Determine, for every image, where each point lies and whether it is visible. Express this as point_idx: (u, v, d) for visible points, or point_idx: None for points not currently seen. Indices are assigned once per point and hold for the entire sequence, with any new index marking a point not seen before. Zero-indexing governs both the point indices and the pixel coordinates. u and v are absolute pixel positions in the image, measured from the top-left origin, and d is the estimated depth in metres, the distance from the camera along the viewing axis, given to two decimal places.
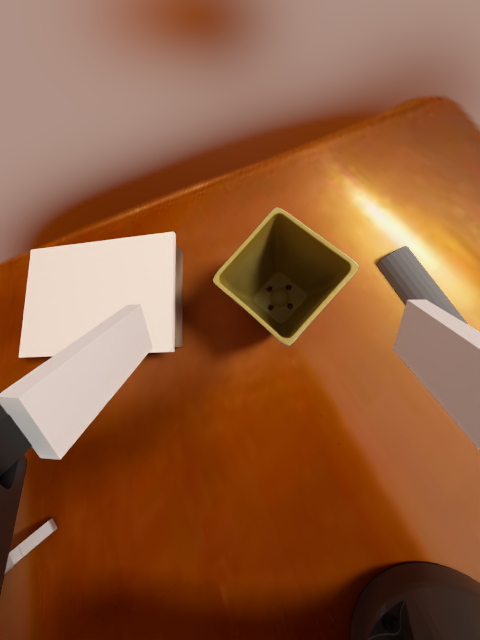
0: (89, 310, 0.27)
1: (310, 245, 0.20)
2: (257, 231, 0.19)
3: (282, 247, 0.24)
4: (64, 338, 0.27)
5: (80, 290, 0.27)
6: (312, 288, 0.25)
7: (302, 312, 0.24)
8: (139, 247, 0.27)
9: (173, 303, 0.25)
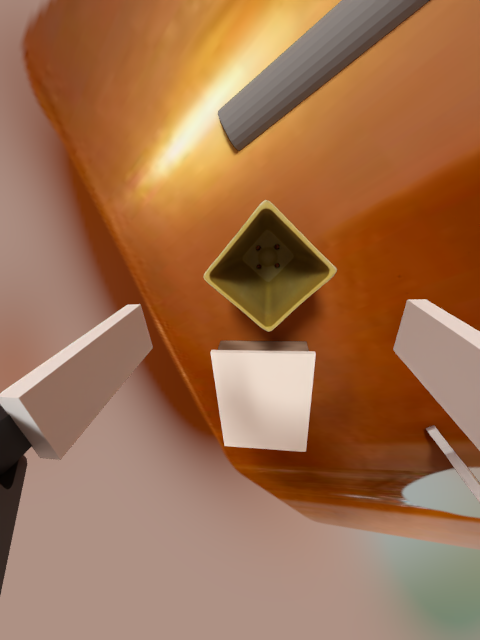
0: (274, 410, 0.35)
1: (236, 243, 0.21)
2: (226, 294, 0.22)
3: (226, 260, 0.25)
4: (295, 425, 0.35)
5: (258, 416, 0.36)
6: (263, 226, 0.25)
7: (288, 238, 0.25)
8: (224, 377, 0.33)
9: (273, 352, 0.30)
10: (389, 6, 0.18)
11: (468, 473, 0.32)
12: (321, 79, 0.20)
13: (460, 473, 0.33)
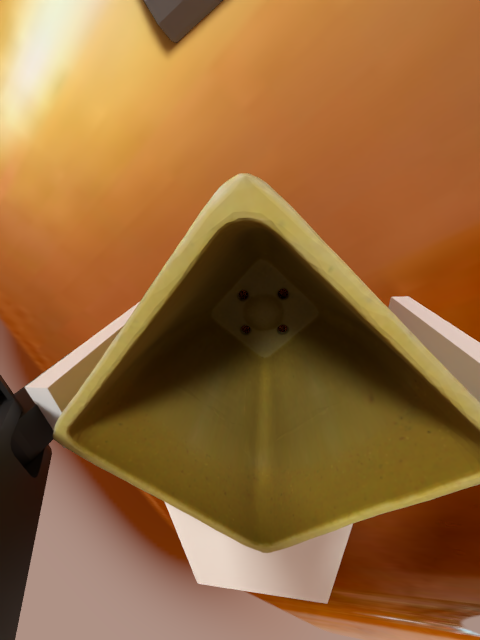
0: (276, 558, 0.20)
1: (153, 330, 0.06)
2: (133, 480, 0.07)
3: (163, 335, 0.11)
4: (312, 577, 0.21)
5: (248, 561, 0.21)
6: (251, 253, 0.11)
7: (312, 284, 0.10)
8: (186, 514, 0.18)
9: None
10: None
11: None
12: None
13: None
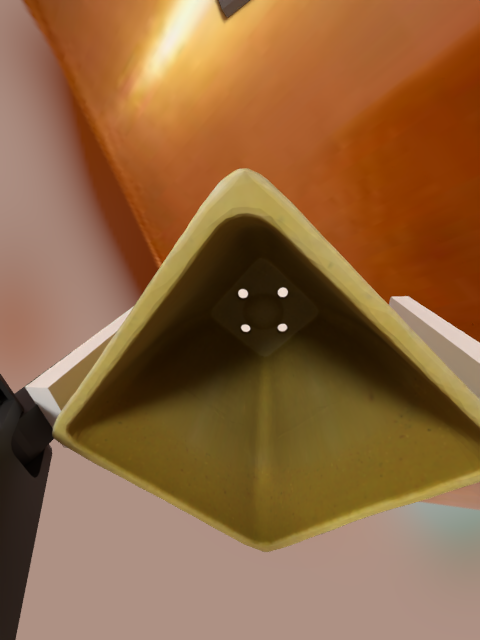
0: None
1: (153, 328, 0.06)
2: (132, 479, 0.07)
3: (163, 334, 0.11)
4: None
5: None
6: (251, 252, 0.11)
7: (312, 283, 0.10)
8: None
9: None
10: None
11: None
12: None
13: None
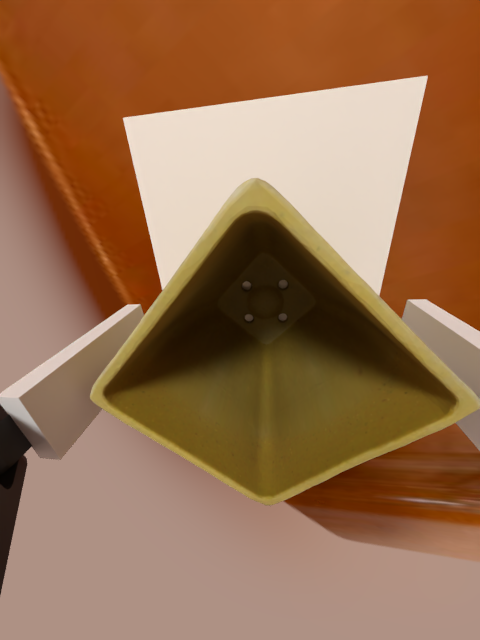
0: None
1: (175, 307, 0.07)
2: (156, 437, 0.08)
3: (176, 320, 0.12)
4: None
5: None
6: (254, 247, 0.12)
7: (309, 274, 0.12)
8: (168, 210, 0.13)
9: (295, 96, 0.11)
10: None
11: None
12: None
13: None
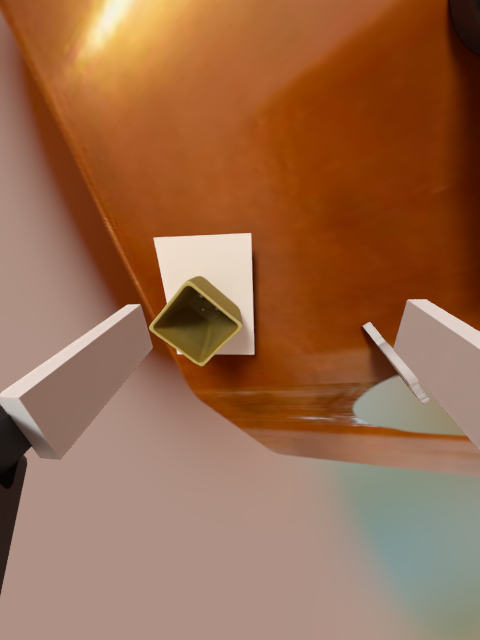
0: None
1: (173, 303, 0.28)
2: (167, 340, 0.29)
3: (172, 309, 0.33)
4: None
5: None
6: None
7: None
8: (169, 267, 0.34)
9: (212, 235, 0.32)
10: None
11: (394, 352, 0.35)
12: None
13: (387, 354, 0.35)
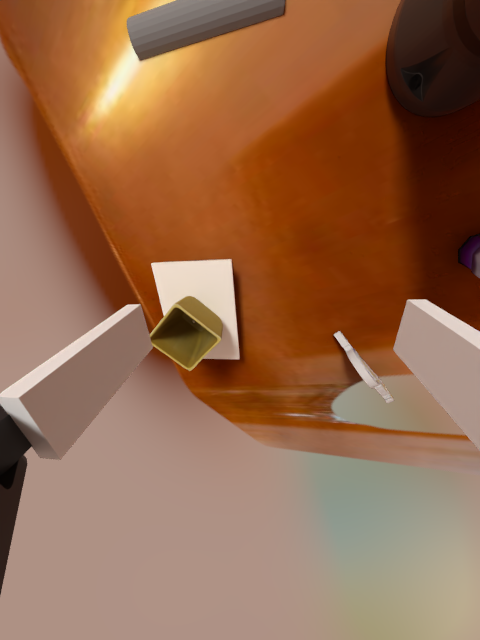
0: None
1: (165, 320, 0.35)
2: (161, 350, 0.36)
3: (166, 322, 0.39)
4: (226, 332, 0.43)
5: None
6: None
7: (206, 309, 0.39)
8: (164, 287, 0.41)
9: (199, 260, 0.38)
10: (247, 4, 0.26)
11: (356, 358, 0.40)
12: (203, 33, 0.28)
13: (351, 359, 0.41)
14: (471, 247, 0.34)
